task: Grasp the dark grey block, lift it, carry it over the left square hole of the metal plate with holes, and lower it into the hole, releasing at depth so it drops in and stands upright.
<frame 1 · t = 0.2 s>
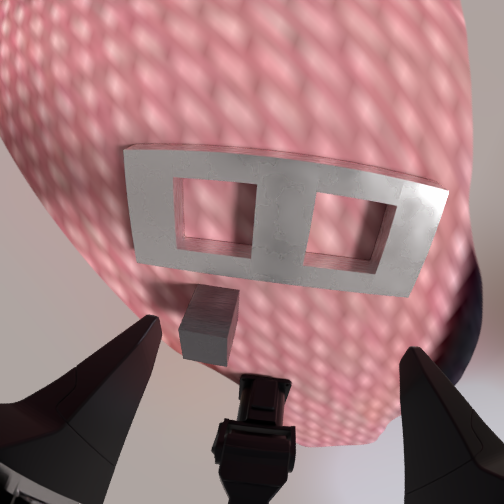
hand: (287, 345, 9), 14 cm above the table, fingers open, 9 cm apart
dark grey block: (218, 302, 28), on the table
metal plate with holes: (282, 215, 22), on the table
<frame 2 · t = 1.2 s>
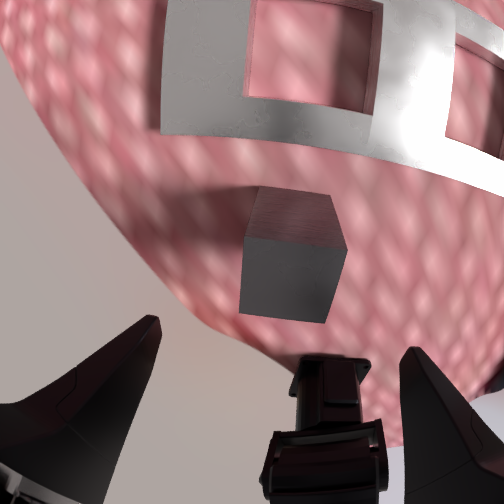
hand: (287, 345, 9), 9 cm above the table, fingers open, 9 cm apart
dark grey block: (290, 221, 17), on the table
metal plate with holes: (403, 70, 11), on the table
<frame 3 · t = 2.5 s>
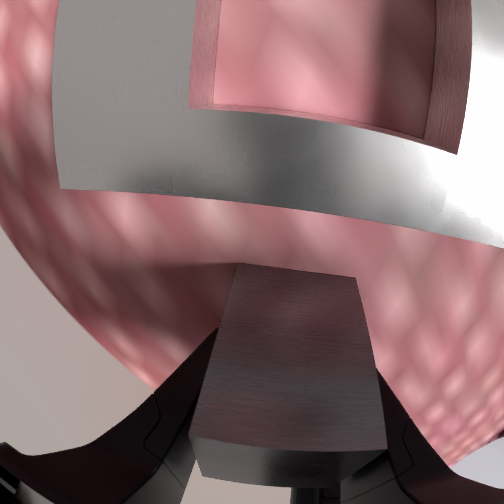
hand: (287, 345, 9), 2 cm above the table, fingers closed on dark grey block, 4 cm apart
dark grey block: (289, 314, 11), on the table, touching gripper
metal plate with holes: (486, 70, 5), on the table
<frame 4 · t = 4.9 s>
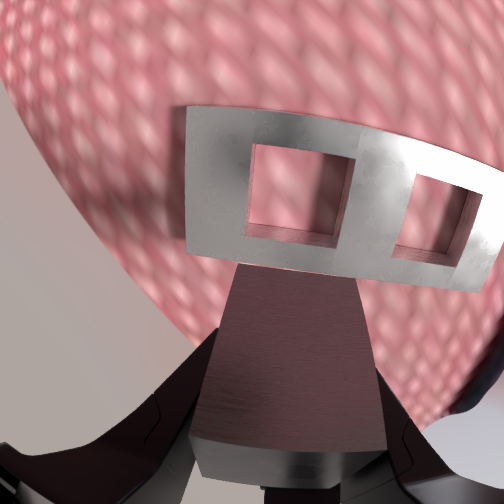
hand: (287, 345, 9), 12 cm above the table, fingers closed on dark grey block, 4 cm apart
dark grey block: (288, 314, 11), point 10 cm above the table, touching gripper
metal plate with holes: (369, 200, 18), on the table
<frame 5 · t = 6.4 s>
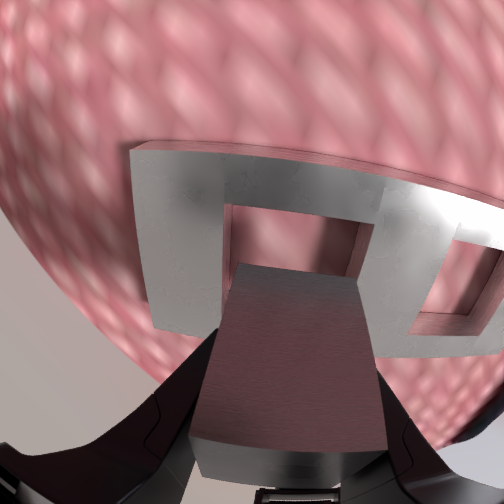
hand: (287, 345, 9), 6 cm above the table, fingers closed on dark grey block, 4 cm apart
dark grey block: (289, 314, 11), point 4 cm above the table, touching gripper
metal plate with holes: (385, 264, 14), on the table
when the fingers open (3 cm above the table, at t = 7.4 s): dark grey block drops 2 cm, resting in metal plate with holes.
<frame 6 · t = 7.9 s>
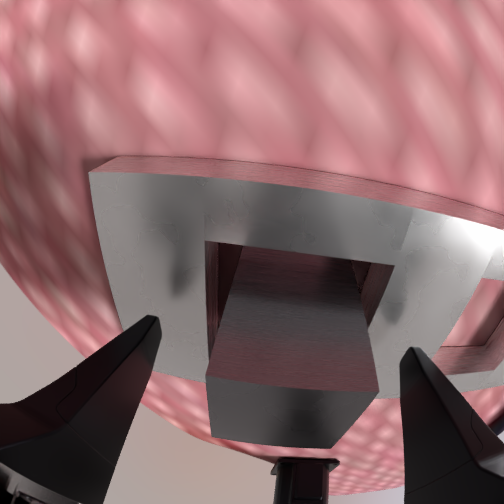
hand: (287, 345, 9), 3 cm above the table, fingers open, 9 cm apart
dark grey block: (289, 288, 12), resting in metal plate with holes
metal plate with holes: (399, 301, 11), on the table
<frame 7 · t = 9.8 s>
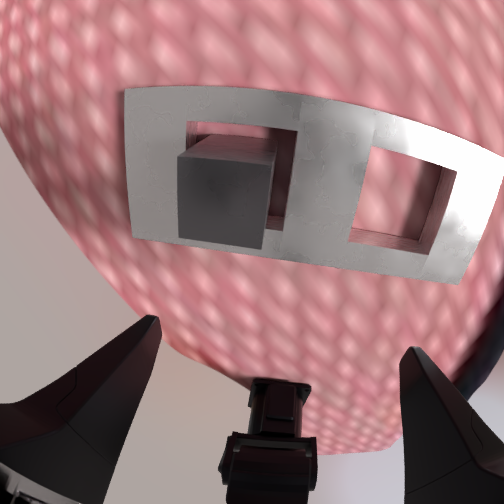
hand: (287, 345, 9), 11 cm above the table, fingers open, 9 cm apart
dark grey block: (242, 167, 17), resting in metal plate with holes
metal plate with holes: (322, 178, 17), on the table
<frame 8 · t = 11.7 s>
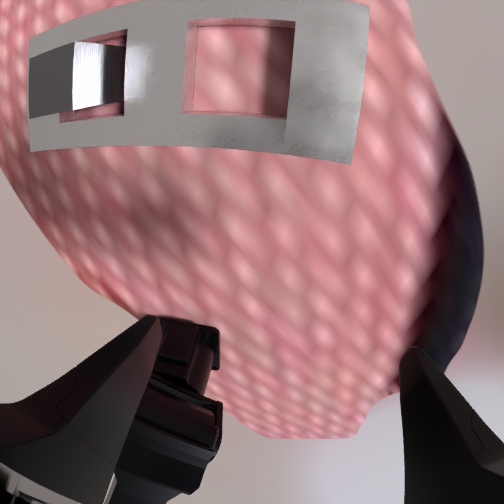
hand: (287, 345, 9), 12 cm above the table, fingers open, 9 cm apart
dark grey block: (105, 77, 16), resting in metal plate with holes
metal plate with holes: (166, 69, 15), on the table
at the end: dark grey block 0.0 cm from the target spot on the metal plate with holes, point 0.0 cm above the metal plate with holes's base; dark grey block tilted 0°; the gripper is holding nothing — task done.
